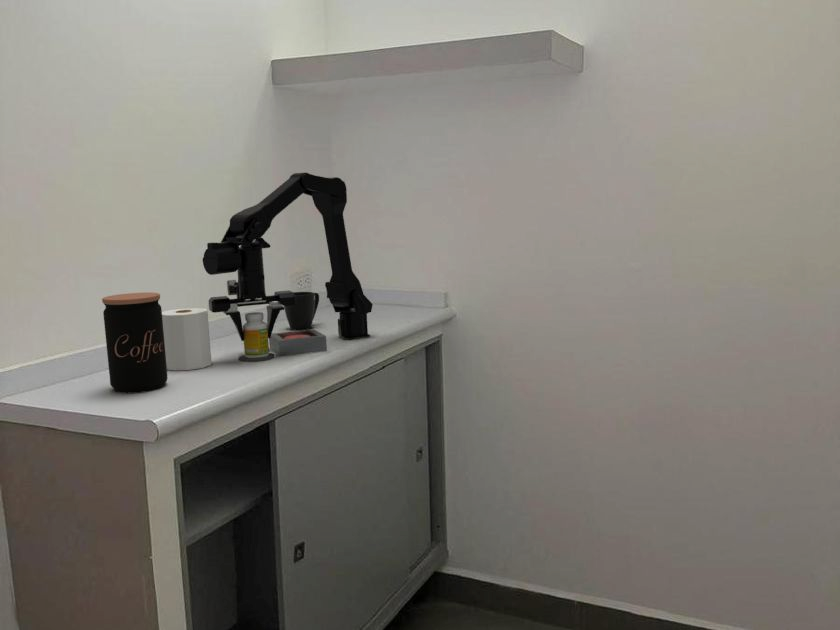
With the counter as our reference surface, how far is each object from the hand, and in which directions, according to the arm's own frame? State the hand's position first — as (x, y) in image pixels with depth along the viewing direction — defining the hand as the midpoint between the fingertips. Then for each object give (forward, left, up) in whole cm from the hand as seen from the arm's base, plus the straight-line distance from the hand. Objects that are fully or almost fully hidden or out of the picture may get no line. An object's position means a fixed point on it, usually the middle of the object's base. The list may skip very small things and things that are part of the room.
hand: (255, 339), depth 187 cm
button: (-10, -5, -4) cm, 12 cm away
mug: (-20, -35, -5) cm, 41 cm away
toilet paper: (+15, 0, -5) cm, 16 cm away
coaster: (0, 0, -4) cm, 4 cm away
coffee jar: (+26, +16, -4) cm, 31 cm away
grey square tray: (-10, -4, -4) cm, 12 cm away
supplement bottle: (0, 0, -4) cm, 4 cm away
